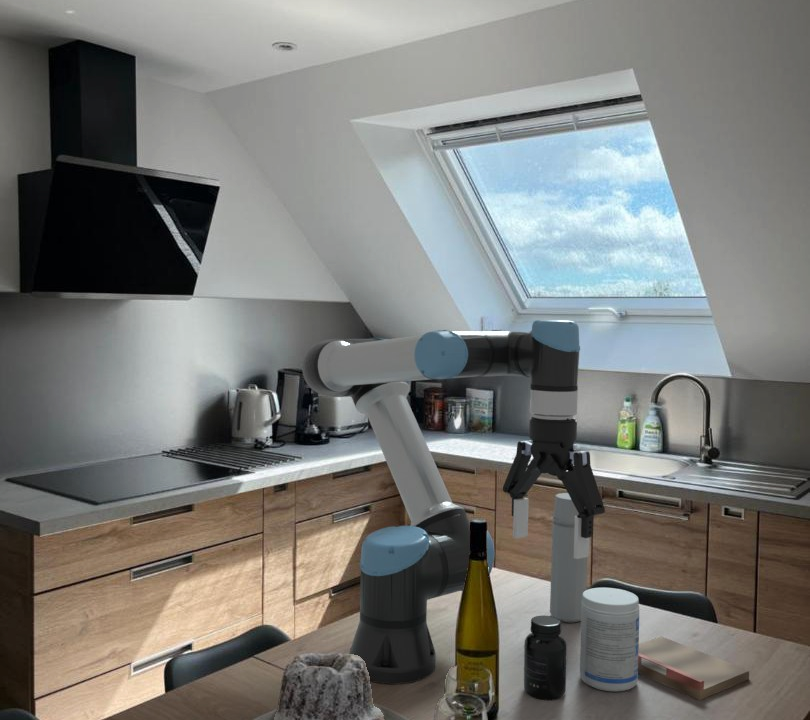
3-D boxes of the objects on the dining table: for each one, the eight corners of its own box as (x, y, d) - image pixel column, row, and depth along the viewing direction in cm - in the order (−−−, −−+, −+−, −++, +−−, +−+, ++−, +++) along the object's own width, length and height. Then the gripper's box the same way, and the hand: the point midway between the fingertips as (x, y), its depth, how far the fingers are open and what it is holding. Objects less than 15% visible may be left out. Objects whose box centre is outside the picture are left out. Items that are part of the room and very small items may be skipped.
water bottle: (585, 626, 166) (589, 501, 165) (545, 621, 168) (549, 498, 167) (588, 610, 175) (592, 492, 174) (551, 606, 177) (554, 489, 176)
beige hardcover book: (611, 661, 149) (611, 644, 149) (661, 644, 158) (661, 628, 158) (698, 700, 135) (699, 682, 135) (748, 679, 143) (749, 662, 143)
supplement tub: (648, 690, 138) (651, 603, 137) (596, 696, 136) (599, 607, 135) (618, 666, 147) (621, 584, 147) (569, 671, 145) (572, 588, 144)
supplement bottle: (536, 679, 142) (538, 609, 141) (573, 691, 137) (575, 619, 137) (515, 692, 136) (517, 620, 136) (552, 705, 132) (554, 631, 131)
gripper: (631, 423, 126) (626, 562, 127) (516, 407, 146) (513, 526, 148) (597, 427, 122) (593, 570, 123) (484, 409, 142) (481, 532, 143)
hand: (549, 547), depth 135 cm, fingers open, 13 cm apart
